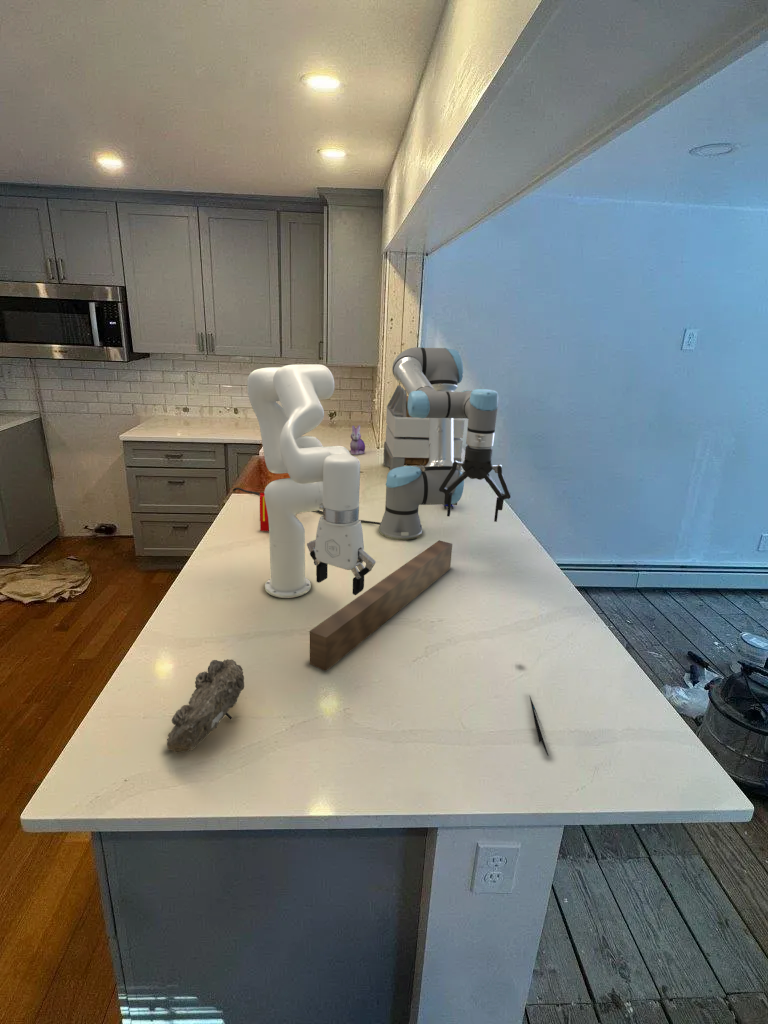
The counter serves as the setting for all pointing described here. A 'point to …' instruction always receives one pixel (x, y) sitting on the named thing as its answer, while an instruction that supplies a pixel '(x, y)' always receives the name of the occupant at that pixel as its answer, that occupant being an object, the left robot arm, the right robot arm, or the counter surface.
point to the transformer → (411, 435)
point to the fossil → (206, 705)
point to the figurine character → (451, 505)
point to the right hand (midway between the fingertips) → (471, 517)
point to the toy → (263, 514)
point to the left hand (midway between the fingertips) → (339, 586)
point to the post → (376, 606)
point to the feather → (538, 726)
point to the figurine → (356, 442)
